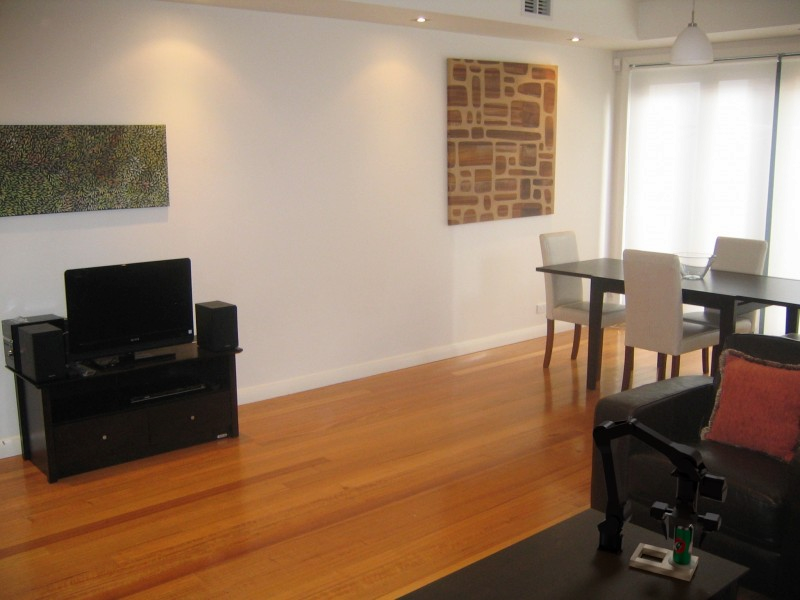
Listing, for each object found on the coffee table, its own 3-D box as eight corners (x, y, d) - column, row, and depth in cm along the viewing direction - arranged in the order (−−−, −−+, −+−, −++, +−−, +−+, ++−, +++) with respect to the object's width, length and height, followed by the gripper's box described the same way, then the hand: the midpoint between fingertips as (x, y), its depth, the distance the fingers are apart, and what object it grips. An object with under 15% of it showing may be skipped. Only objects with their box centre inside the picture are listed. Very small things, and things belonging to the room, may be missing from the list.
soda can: (692, 566, 232) (695, 527, 230) (673, 564, 233) (676, 526, 231) (689, 558, 237) (692, 520, 235) (671, 556, 238) (674, 518, 236)
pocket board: (629, 565, 237) (629, 558, 236) (639, 548, 247) (640, 541, 247) (690, 581, 228) (691, 574, 228) (699, 563, 238) (699, 556, 238)
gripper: (647, 495, 229) (643, 546, 231) (716, 510, 219) (712, 563, 222) (656, 482, 238) (652, 531, 241) (723, 496, 229) (719, 547, 232)
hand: (683, 543), depth 234 cm, fingers open, 9 cm apart
